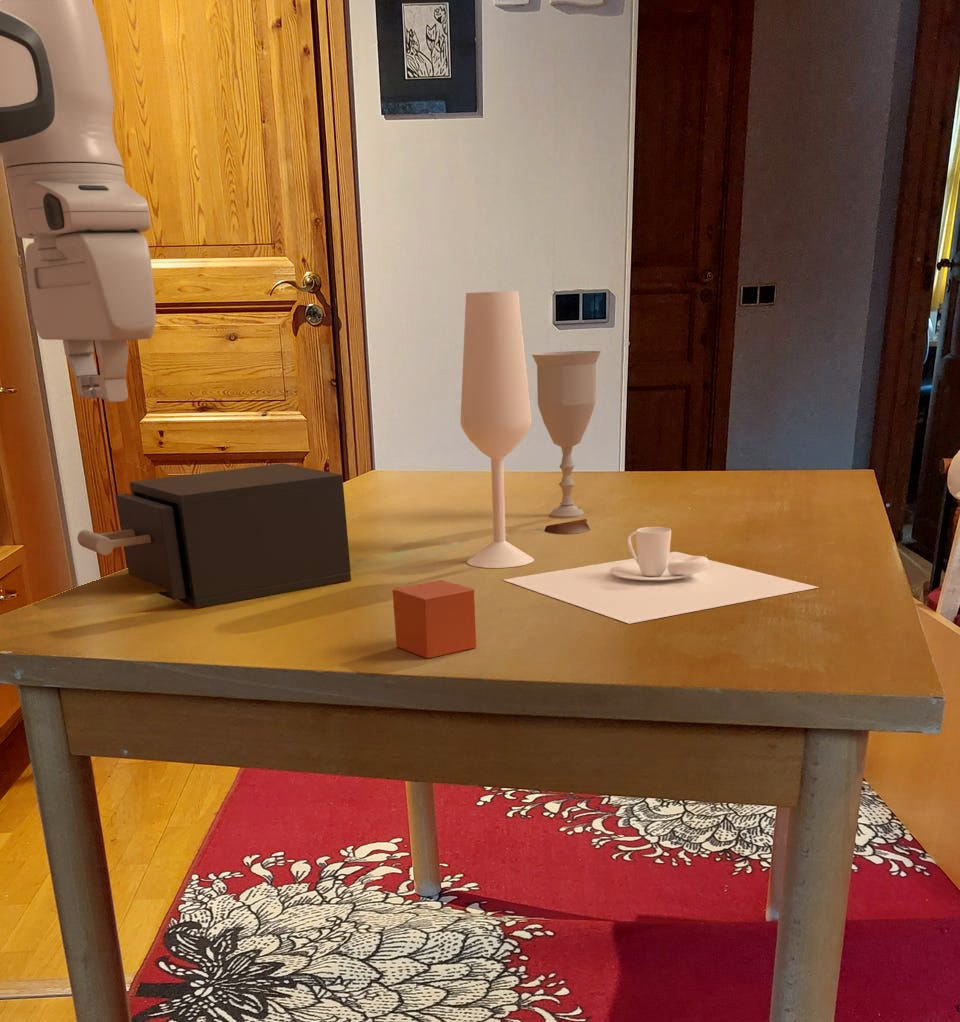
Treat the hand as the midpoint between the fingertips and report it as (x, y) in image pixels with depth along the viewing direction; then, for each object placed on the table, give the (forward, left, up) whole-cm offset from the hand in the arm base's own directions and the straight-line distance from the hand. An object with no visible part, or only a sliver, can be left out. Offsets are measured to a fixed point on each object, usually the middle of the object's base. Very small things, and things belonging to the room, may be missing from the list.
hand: (103, 399), depth 98 cm
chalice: (+49, -1, -17) cm, 52 cm away
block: (+12, -31, -17) cm, 37 cm away
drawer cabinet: (+11, 0, -17) cm, 20 cm away
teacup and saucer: (+38, -27, -17) cm, 50 cm away
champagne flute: (+34, -9, -17) cm, 39 cm away
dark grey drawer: (+6, 0, -16) cm, 17 cm away
